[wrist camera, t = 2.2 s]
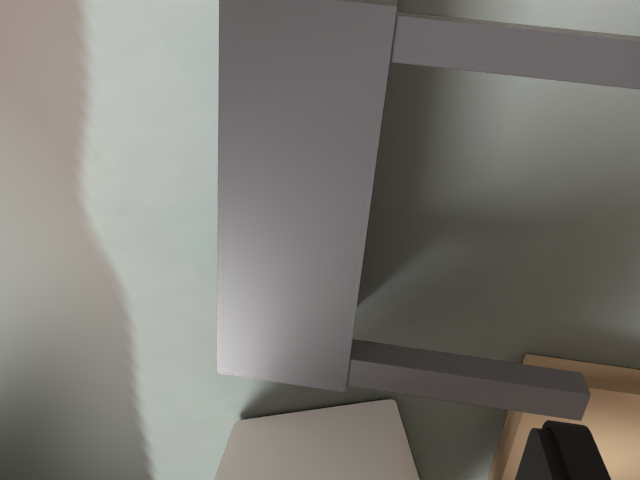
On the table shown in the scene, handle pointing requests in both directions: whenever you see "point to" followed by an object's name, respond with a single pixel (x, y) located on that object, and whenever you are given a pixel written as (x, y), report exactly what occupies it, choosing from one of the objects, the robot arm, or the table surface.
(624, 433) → the stacked wooden blocks
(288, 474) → the milk carton
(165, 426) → the table surface
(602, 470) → the robot arm
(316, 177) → the grey bracket
